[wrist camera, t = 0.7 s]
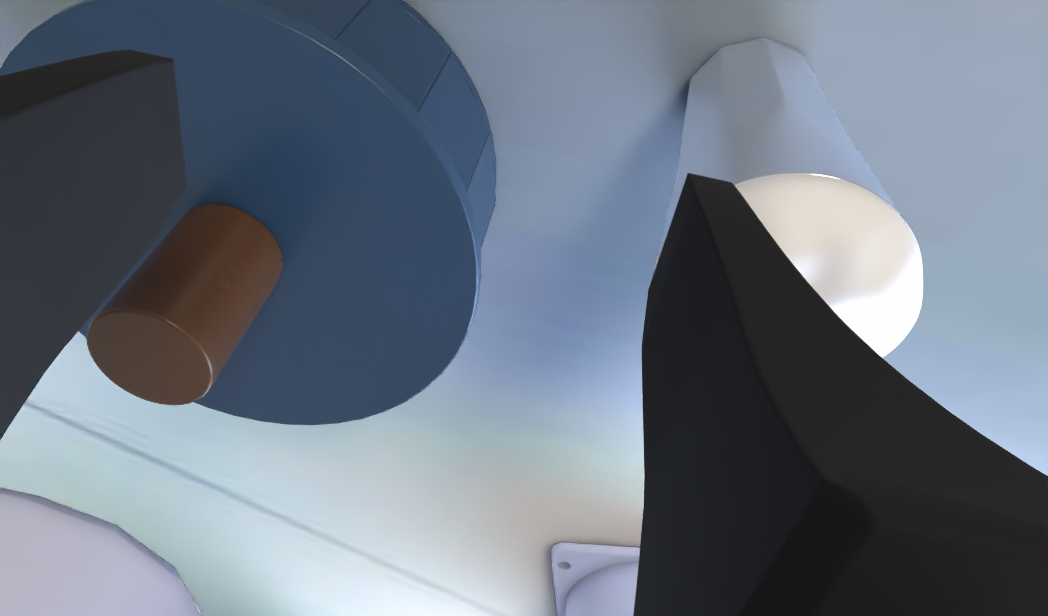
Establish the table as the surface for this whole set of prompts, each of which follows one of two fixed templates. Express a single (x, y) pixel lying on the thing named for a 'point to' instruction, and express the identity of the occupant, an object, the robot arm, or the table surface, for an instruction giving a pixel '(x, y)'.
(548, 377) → the table surface
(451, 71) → the tin
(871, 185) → the milkshake
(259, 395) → the lid
